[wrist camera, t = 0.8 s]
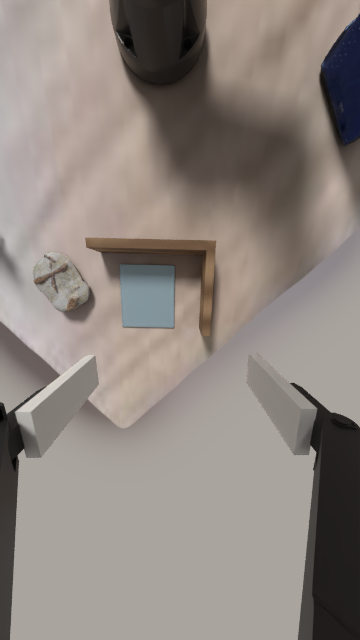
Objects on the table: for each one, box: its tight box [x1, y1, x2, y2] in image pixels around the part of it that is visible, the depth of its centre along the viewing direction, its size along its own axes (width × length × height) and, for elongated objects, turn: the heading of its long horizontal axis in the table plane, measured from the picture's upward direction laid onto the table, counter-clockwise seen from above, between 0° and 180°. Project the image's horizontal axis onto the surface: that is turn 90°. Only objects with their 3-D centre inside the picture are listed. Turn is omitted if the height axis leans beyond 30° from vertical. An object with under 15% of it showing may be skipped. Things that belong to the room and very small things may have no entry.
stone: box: [33, 252, 89, 312], centre depth 37 cm, size 12×9×3 cm
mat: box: [119, 264, 175, 328], centre depth 40 cm, size 14×12×1 cm
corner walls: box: [86, 238, 216, 336], centre depth 37 cm, size 18×24×6 cm
